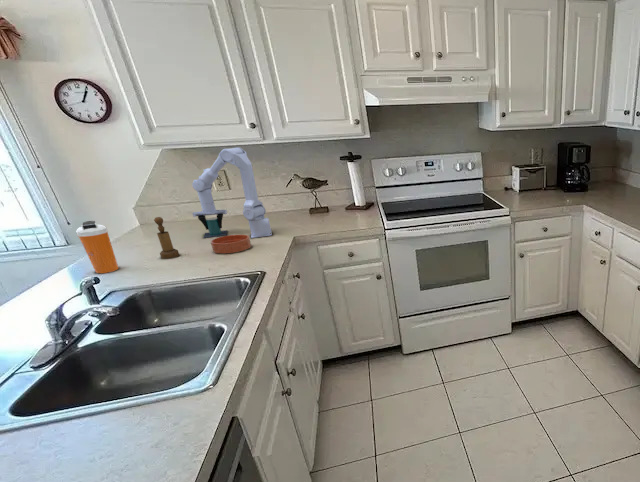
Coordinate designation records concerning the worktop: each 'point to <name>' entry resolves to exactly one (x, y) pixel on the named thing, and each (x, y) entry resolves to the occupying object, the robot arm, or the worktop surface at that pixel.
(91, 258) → the shaker bottle
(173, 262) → the worktop surface
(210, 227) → the teal cup
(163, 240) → the wooden pepper mill
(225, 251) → the terracotta bowl
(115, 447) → the worktop surface
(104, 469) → the worktop surface
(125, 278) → the worktop surface
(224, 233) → the slate coaster
